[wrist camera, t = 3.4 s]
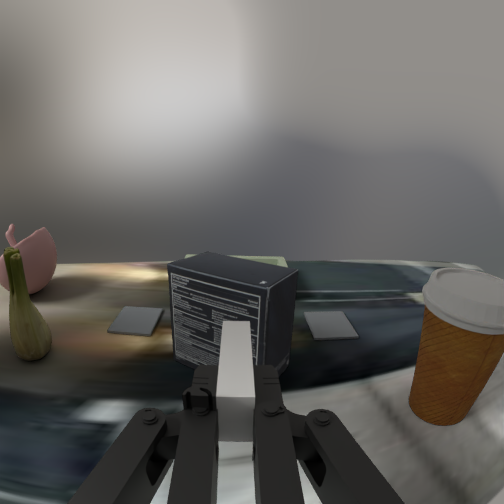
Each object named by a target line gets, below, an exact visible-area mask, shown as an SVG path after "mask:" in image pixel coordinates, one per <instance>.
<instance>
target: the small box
mask: <svg viewBox="0 0 504 504" xmlns="http://www.w3.org/2000/svg"><path fill="white" fill-rule="evenodd" d="M167 269H168V278H169V291H170V292H169V294H170V311H171V326H172V340H173V354H174V355H173V358H174V360H175V361H177V362H179V363H182V364H184V365H186V366H188V367H190V368H193V369H196V368H197V367H198V366H199V365H219V358H220V347H221V336H222V326H223V321H250V331H251V346H252V360H253V365H273V366H274V368H275V369H276V370H277V372H278V377H279V376H280V375H281V374H282V373H283V372H284V371H285V370H286V368H287V367H288V365H289V359H290V349H291V340H292V330H293V320H294V310H295V299H296V288H297V276H298V269H294V268H289V267H283V266H278V265H273V264H268V263H263V262H257V261H252V260H247V259H242V258H237V257H232V256H227V255H221V254H216V253H211V252H205V253H201V254H198V255H195V256H192V257H188V258H185V259H182V260H178V261H174V262H171V263H168V265H167Z"/></svg>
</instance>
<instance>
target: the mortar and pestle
mask: <svg viewBox="0 0 504 504" xmlns="http://www.w3.org/2000/svg"><path fill="white" fill-rule="evenodd" d="M14 230H15V226H14V224H11V225H10V226H9V230H8V231H7V232H6V238H7V239H8V242H9V243H10V245H11V247H13V248H14V249H16V248H18V249H19V251H20V255H21V257H22V262H23V268H24V273H25V279H26V284H27V288H28V293H29V294H33V293H36V292H38V291H40V290H41V289H42V288H44V287H45V286H46V285H47V284H48V282H49V281H50V280H51V278H52V276H53V274H54V271H55V268H56V263H57V252H56V247H55V243H54V241H53V239H52V237H51V235H50V234H49V232H48V231H47V230H46V228H45V227H43V228H41V229H40V230H36V231H35V232H34V233H33V234H32V235H30V236H29V237H27V238H25V239H24V240H22V241H21V242H19V243H18V244H17V242H16V240H15V238H14V237H13V232H14ZM0 284H1V285H2V286H3V287H4V288H5V289H7V290H8V291H10V289H9V280H8V275H7V270H6V266H5V261H4V257H3V255H2V256H1V257H0Z"/></svg>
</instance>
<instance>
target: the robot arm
mask: <svg viewBox="0 0 504 504" xmlns="http://www.w3.org/2000/svg"><path fill="white" fill-rule="evenodd" d="M182 398H183V406H184V410H182V411H180V412H178V413H174V414H169V415H165V414H164V413H163V412H162V411H161V410H158V409H156V408H145V409H142V410H140V411H138V412H137V413H136V414H135V415H134V416H133V418H132V419H131V420H130V422H129V423H128V424H127V426H126V427H125V428H124V430H123V431H122V432H121V434H120V435H119V436H118V437H117V439H116V440H115V441H114V443H113V444H112V445H111V447H110V448H109V449H108V451H107V452H106V453H105V455H104V456H103V457H102V459H101V460H100V461H99V463H98V464H97V465H96V466H95V468H94V469H93V470H92V472H91V473H90V474H89V476H88V477H87V478H86V480H85V481H84V482H83V484H82V485H81V486H80V487H79V489H78V490H77V491H76V493H75V494H74V495H73V497H72V498H71V499H70V501H69V502H68V503H67V504H150V503H151V501H152V499H153V497H154V495H155V494H156V492H157V490H158V488H159V486H160V484H161V483H162V481H163V479H164V477H165V475H166V473H167V472H168V470H169V468H170V466H171V464H172V462H173V459H175V461H174V466H173V472H172V478H171V484H170V489H169V495H168V502H167V504H216V503H217V478H218V456H219V446H218V441H233V442H253V458H252V461H253V462H254V481H255V499H256V504H305V503H304V498H303V492H302V487H301V481H300V476H299V471H298V465H297V460H299V463H300V465H301V467H302V468H303V470H304V472H305V474H306V476H307V477H308V479H309V481H310V483H311V485H312V486H313V488H314V490H315V492H316V493H317V495H318V497H319V499H320V500H321V502H322V504H405V503H404V502H403V501H402V499H401V498H400V497H399V496H398V494H397V493H396V492H395V491H394V489H393V488H392V487H391V486H390V484H389V483H388V482H387V481H386V479H385V478H384V477H383V475H382V474H381V473H380V472H379V470H378V469H377V468H376V466H375V465H374V464H373V463H372V461H371V460H370V459H369V457H368V456H367V455H366V454H365V452H364V451H363V450H362V448H361V447H360V446H359V444H358V443H357V442H356V441H355V439H354V438H353V437H352V435H351V434H350V433H349V431H348V430H347V429H346V427H345V426H344V425H343V423H342V422H341V421H340V419H339V418H338V417H337V416H336V415H335V414H334V413H333V412H331V411H329V410H324V409H318V410H314V411H311V412H310V413H309V414H308V415H307V416H304V415H298V414H294V413H292V412H290V411H289V410H287V409H286V407H285V406H284V404H283V399H282V394H281V388H280V383H279V377H278V372H277V370H276V369H275V368H274V366H273V365H253V360H252V346H251V331H250V321H223V326H222V336H221V347H220V358H219V365H199V366H198V367H197V368H196V369H195V371H194V376H193V381H192V386H191V387H189V388H187V389H186V390H185V391H184V392H183V394H182ZM296 459H297V460H296Z"/></svg>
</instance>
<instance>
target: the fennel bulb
mask: <svg viewBox="0 0 504 504" xmlns="http://www.w3.org/2000/svg"><path fill="white" fill-rule="evenodd" d="M3 257H4V261H5V266H6V270H7V275H8V280H9V289H10V304H9V321H10V333H11V339H12V343H13V345H14V348H15V351H16V354H17V355H18V356H19V357H20V358H21V359H23V360H27V361H32V360H37V359H41V358H42V357H43V356H44V355H45V354H46V353H47V352H48V351H49V350H50V348H51V344H52V338H51V332H50V329H49V327H48V325H47V323H46V322H45V320H44V319H43V317H42V315H41V314H40V313H39V311H38V310H37V308H36V307H35V306H34V304H33V303H32V302H31V300H30V297H29V293H28V288H27V284H26V279H25V273H24V268H23V262H22V257H21V255H20V251H19V249H18V248H16V249H14V248H13V247H7V248H5V249H4V254H3Z"/></svg>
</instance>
